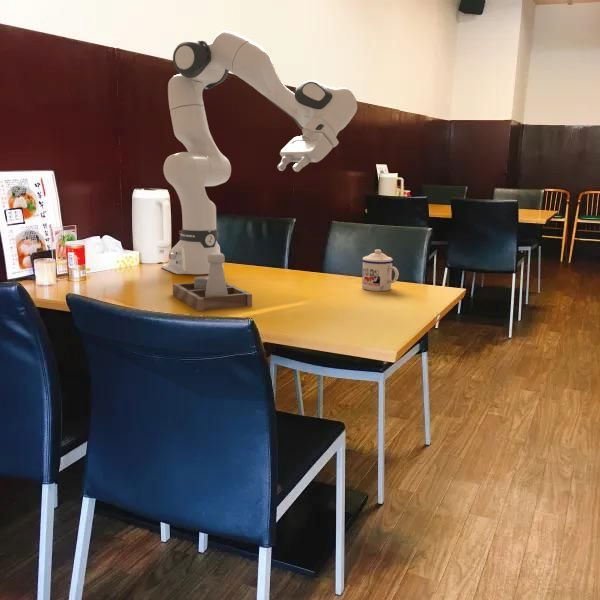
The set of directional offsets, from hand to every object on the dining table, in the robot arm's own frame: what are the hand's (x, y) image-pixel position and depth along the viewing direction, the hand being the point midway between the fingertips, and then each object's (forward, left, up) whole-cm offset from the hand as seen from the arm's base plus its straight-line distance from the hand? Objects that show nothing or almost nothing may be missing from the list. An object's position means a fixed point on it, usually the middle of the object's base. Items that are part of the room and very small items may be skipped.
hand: (287, 169), depth 178 cm
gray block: (-1, -29, -33) cm, 44 cm away
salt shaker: (+8, -31, -34) cm, 47 cm away
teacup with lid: (+20, +20, -35) cm, 45 cm away
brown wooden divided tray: (+4, -30, -34) cm, 46 cm away
